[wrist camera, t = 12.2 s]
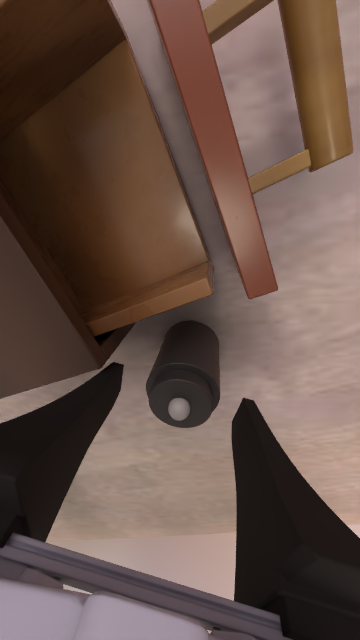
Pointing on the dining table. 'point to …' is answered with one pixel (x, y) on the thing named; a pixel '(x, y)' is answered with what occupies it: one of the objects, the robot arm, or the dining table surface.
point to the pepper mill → (185, 376)
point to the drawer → (146, 147)
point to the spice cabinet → (40, 319)
